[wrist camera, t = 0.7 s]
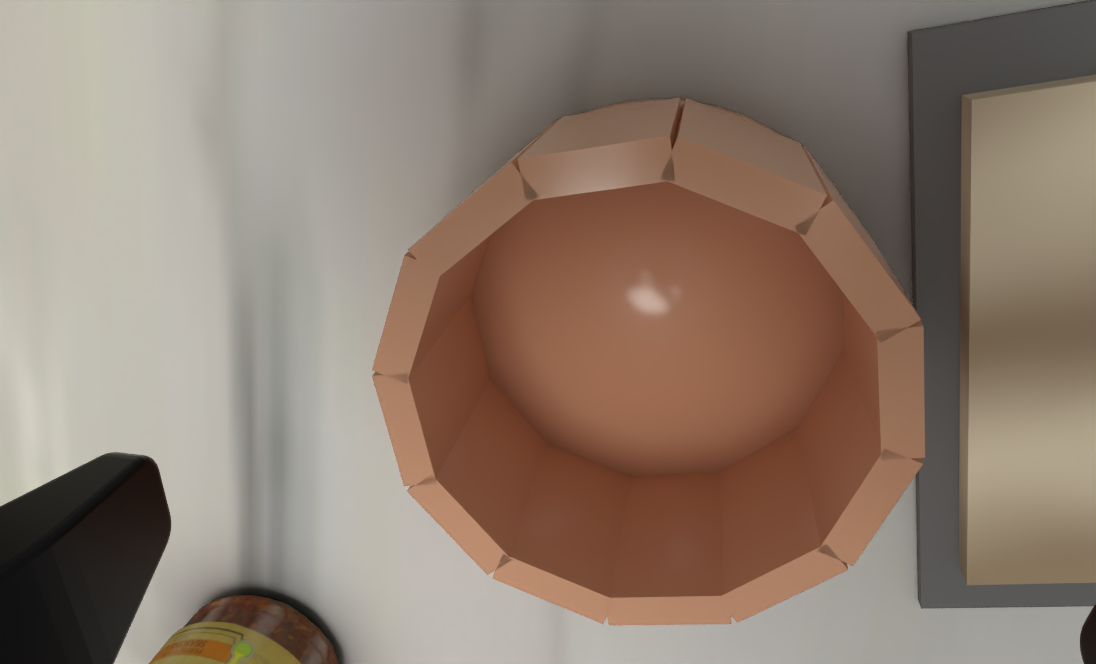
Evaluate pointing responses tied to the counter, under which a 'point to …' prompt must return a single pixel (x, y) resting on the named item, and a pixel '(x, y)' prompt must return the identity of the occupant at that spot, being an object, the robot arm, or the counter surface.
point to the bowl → (654, 369)
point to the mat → (935, 152)
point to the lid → (1028, 334)
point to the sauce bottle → (247, 635)
